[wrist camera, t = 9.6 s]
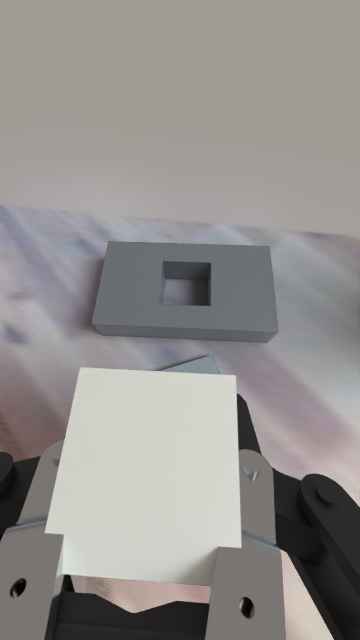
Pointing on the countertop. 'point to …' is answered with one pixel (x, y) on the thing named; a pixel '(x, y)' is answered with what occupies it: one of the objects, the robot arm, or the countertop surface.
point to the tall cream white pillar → (148, 476)
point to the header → (186, 320)
